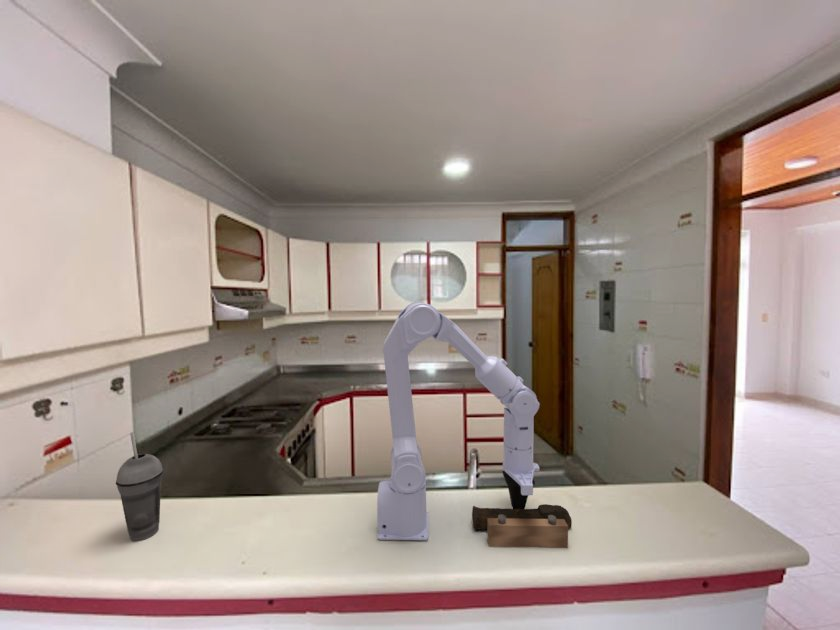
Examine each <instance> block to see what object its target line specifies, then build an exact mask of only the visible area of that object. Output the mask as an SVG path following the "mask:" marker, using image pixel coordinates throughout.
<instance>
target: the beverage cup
mask: <svg viewBox="0 0 840 630" xmlns="http://www.w3.org/2000/svg"><path fill="white" fill-rule="evenodd" d="M129 435H130V441H131V447H132V451H133V456H131V457H129V458H128V459H126V461H124V463H122V464H121V466H120V467H119V469H118V472H117V475H116V481H115V485H116V487H117V490H118V492H119V494H120V500H121V503H122V504H121V505H122V509H123V514H124V515H123V516H124V519H125V525H126V530H127V532H128V537H129V540H130V541H131V542H140V541H145V540H147V539H150V538H152V537H153V536H154V535H156V534H157V533H158V532H159V530H160V527H159V526H160V519H161V518H160V517H161V514H160V513H161V487H162V482H163V473H164V468H163V465H162V462H161V461H160V459H159V458H157V457H156V456H155V455H153V454H149V453H140V454H139V453H138V450H137V445H136V438H135V433H134V432H130V434H129Z"/></svg>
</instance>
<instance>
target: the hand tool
mask: <svg viewBox="0 0 840 630" xmlns="http://www.w3.org/2000/svg"><path fill="white" fill-rule="evenodd" d="M499 514H503V515H505V516H506V518H515V519H548V516H549V515H554V516H555V517H556V519H564V520H565V522H566V523H567V525H568V530H569V529H571V528H572V525H573V524H572V520H573V519H572V517H571V515H570V512H569V511H568V510H567V509H566V508H565V507H563V506H562V505H559V504H538V506H537V508H525V509H513V508H498V507H496V508H494V507H493V508H491V507H477V506H475V505H472V512H471V519H472V520H471V521H472V527H473V529H474V531H478V530H481V531H483V532H484V531H485V530H486V529H487V518H498V515H499Z"/></svg>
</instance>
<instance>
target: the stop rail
mask: <svg viewBox="0 0 840 630" xmlns="http://www.w3.org/2000/svg"><path fill="white" fill-rule="evenodd" d="M486 532H487V533H486V534H487V536H486V537H487V543H488V547H494V548H495V547H500V548H501V547H505V548H506V547H508V548H509V547H510V548H557V549H558V548H560V549H562V548H566V549H567V548H569V545H568V544H569V529H568V525H567V523H566V522H565V520H564V519H556V517H555V516H554V515H549V516H548V519H515V518H506V516H505V515H503V514H499V515H498V518H487V530H486Z"/></svg>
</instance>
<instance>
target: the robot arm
mask: <svg viewBox="0 0 840 630" xmlns="http://www.w3.org/2000/svg"><path fill="white" fill-rule="evenodd" d="M431 337H432V338H433V339H434V340H436V341H440V342H441V341H442V342H447V343H448V344H449V345H451V346H452V347H453V349H455V351H457V353H459V354H460V355H461V356H462V357H464V359H466V360H467V361H468V362H469V363H470V364H471V365H472V366H473V367H474V370H475V372H474V374H475V378H476V380H478V381H479V383H480V384H482V385H483V386H484V387H485V389H487V391H489V392H490V393H491V394H492V395H493V396H494V397H495V398H496V399H498V400H499V402H500V403H501V405H504V406H505V407H504V408H503V462H502V470H503V471H502V475H503V477H504V478H503V479H504V481H505V484H506V486H507V488H508V493H509V501H510V505H511V509H526V504H527V502H528V499H529V498H528V497H529V496H534V487H535V485H536V482H535V479H534V474H535V472H540V466H539V464H538V463H536V462H534V438H535V437H534V434H535V433H534V430H535V429H534V424H535V423H534V421H535V420H534V416H535V415H536V414H537V412H538V411H539V410H540V403H541V402H539V401H538V398H537V397H538V396H537V395H536V393H535V392H534V391H533V390H531V389H530V388H529V387H528V386H526V385H524V384H523V382H524V379H523V378H522V377H521V376H520V375H518V376H517V375H515V374H514V373H513V371H512V370H511V369H510V368H509V367H508V366H507V365H508V362H507V361H506V359H504V358H498V357H497V356H491V355H490V356H487V355H486V354H485V353H484V352H483V351H482V350H481V349H480V348H479V347H478V346H477V345H476V343H474V342H473V340H471V338H470V337H469V336H467V334H466V333H465V332H464V331H463V330H462V329H461V328H460V327H459V326H458V325H457V324H456V323H455V322H454V321H452V320H451V319H450V318H448V317H447V316H446V315H445V314H443V313H441V312H439V311H438V310H437V309H436V307H434V306H433V305H432V304H430V303H426V302H423V301H414V302H411V303H410V304H408V305H407V306H406V307H405V308H404V309H402V311H401V312H400V313H398V315H397V317H396V319H395V321H394V322H393V325H392V327H391V328H390V330H389V333H388V334H387V336H386V338H385V340H384V342H383V347H382V348H383V349H382V351H383V362H384V369H385V371H384V372H385V378H386V388H387V389H386V390H387V397H388V398H387V399H388V408H389V417H390V425H391V426H390V427H391V435H392V445H393V446H392V449H391V452H390V462H391V474H390V475H391V476H390V477H389V478H388V479H387V480H382V481H379V483H378V488H377V499H376V500H377V501H376V506H377V508H376V511H377V517H376V518H377V536H376V537H377V540H381V541H382V540H385V541H386V540H388V541H390V540H391V541H393V540H394V541H427V540H429V525H430V524H429V519H430V518H429V517H430V516H429V515H430V512H428V511H427V483H426V482H427V479H426V476H427V475H426V469H425V467H424V463H423V460H422V450H421V448H420V446H419V445H418V442H417V435H416V424H415V416H414V415H415V414H414V404H413V395H412V393H413V392H412V384H411V383H412V382H411V375H410V365H409V364H410V363H409V355H410V353H411V352H413V351H414V350H415V348H416V347H418V345H419V344H420V343H422V342H424V341H426V340H428V339H429V338H431Z"/></svg>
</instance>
